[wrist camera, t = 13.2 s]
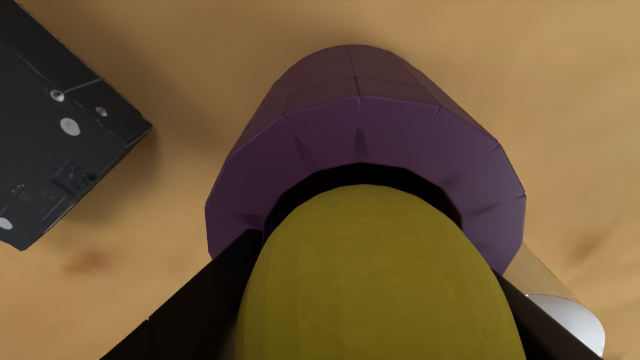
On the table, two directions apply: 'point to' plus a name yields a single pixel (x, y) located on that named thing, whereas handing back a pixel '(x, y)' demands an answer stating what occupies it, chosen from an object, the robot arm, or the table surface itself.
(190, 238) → the table surface
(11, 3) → the disk drive
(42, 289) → the table surface
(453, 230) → the lemon
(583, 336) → the shiny round-topped post
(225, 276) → the robot arm
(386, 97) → the jar
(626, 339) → the table surface
